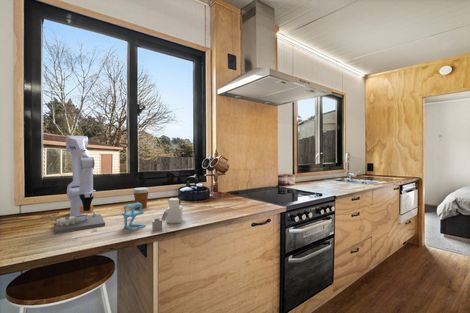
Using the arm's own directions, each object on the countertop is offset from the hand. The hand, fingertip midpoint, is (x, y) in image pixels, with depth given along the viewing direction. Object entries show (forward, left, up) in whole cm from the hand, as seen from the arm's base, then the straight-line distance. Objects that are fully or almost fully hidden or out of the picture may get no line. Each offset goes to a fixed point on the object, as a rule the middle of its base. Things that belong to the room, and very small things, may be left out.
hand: (86, 209), depth 116 cm
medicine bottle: (+20, +37, -7) cm, 43 cm away
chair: (+19, +17, -7) cm, 27 cm away
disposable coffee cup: (-18, +30, -7) cm, 36 cm away
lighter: (+28, +27, -7) cm, 40 cm away
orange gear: (0, 0, -1) cm, 1 cm away
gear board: (0, -3, -7) cm, 7 cm away
